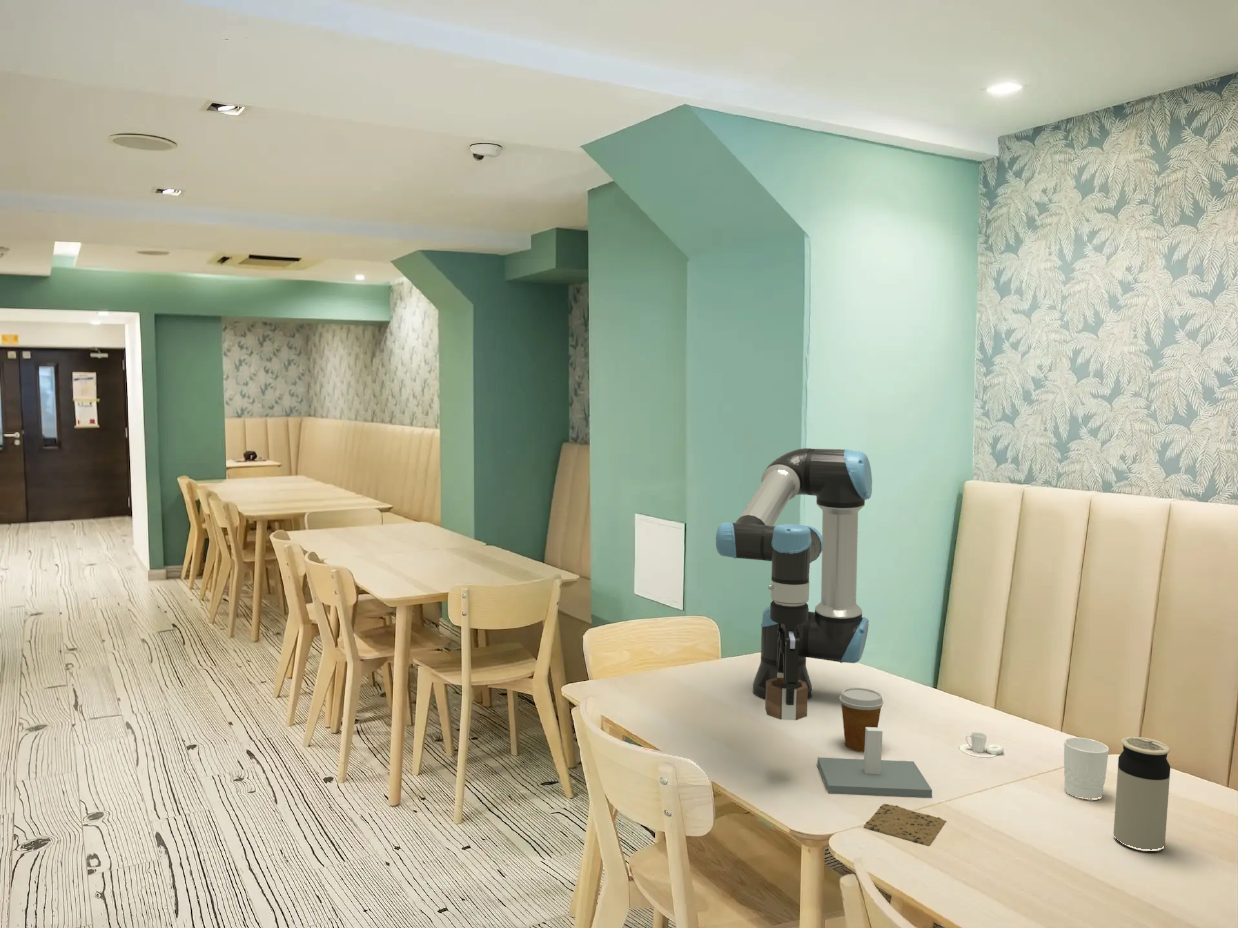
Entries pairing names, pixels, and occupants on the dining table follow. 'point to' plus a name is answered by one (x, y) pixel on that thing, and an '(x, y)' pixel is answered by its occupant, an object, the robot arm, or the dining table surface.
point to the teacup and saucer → (981, 745)
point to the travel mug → (1142, 793)
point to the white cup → (1085, 767)
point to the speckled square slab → (905, 824)
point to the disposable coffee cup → (859, 715)
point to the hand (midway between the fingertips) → (785, 711)
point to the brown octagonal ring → (775, 698)
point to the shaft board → (873, 773)
